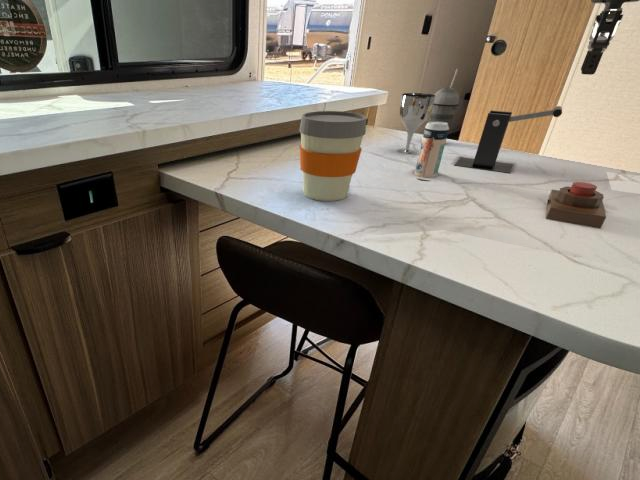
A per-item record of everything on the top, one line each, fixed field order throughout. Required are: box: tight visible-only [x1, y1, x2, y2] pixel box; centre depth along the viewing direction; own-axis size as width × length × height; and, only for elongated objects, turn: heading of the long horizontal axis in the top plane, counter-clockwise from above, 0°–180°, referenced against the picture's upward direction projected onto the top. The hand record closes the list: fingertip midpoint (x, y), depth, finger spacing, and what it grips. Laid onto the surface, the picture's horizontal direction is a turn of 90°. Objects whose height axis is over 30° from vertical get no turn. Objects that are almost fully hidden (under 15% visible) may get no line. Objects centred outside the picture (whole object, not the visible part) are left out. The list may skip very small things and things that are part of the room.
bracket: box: [453, 110, 514, 174], centre depth 98 cm, size 12×9×13 cm
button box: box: [545, 186, 607, 229], centre depth 76 cm, size 12×8×4 cm, turn 147°
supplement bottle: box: [414, 121, 450, 182], centre depth 92 cm, size 5×5×12 cm
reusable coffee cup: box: [299, 110, 367, 202], centre depth 82 cm, size 13×13×15 cm
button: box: [569, 181, 598, 196], centre depth 75 cm, size 4×4×2 cm
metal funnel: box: [399, 92, 436, 155], centre depth 107 cm, size 8×8×15 cm
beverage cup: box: [428, 68, 460, 128], centre depth 115 cm, size 7×7×20 cm
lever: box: [508, 105, 563, 123], centre depth 92 cm, size 13×5×2 cm, turn 57°
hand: (586, 72), depth 83 cm, fingers open, 8 cm apart
